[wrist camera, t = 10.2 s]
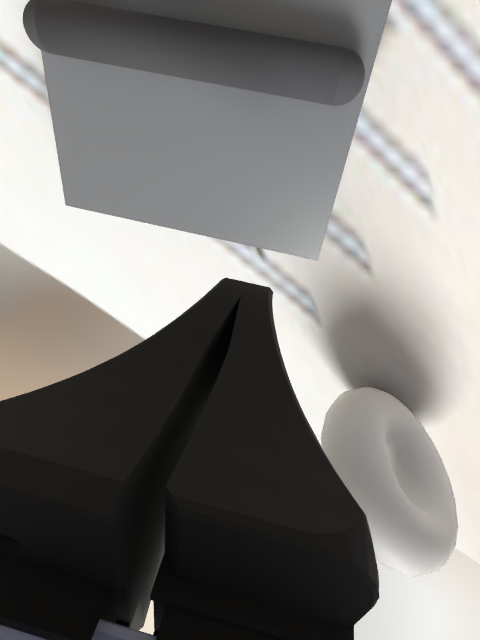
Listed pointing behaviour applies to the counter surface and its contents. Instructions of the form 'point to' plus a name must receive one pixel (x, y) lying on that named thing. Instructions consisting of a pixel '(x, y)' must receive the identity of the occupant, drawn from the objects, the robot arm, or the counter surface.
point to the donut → (393, 479)
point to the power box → (208, 110)
